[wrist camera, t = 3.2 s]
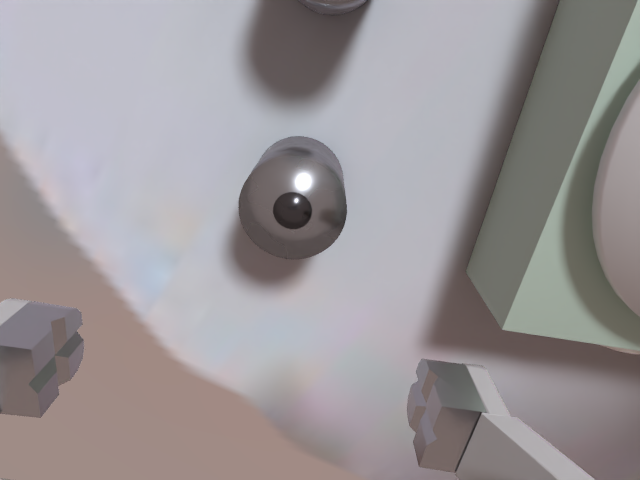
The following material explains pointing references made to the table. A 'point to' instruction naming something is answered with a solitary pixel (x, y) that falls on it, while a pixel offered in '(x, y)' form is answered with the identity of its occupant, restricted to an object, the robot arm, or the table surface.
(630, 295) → the scale
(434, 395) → the robot arm
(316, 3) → the cylinder
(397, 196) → the table surface
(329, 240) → the spacer
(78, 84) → the table surface
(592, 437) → the table surface
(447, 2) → the table surface
